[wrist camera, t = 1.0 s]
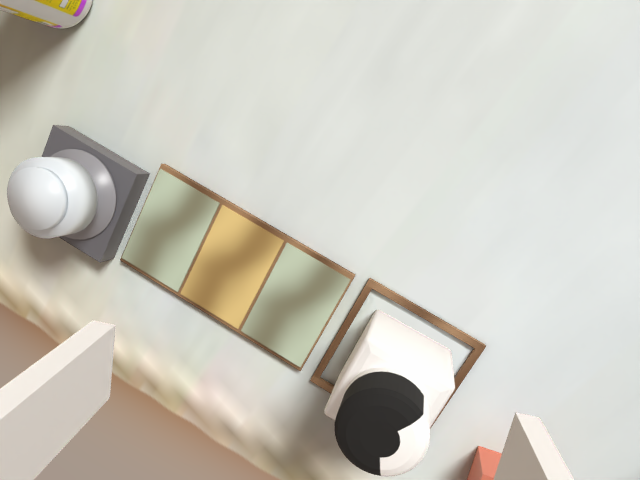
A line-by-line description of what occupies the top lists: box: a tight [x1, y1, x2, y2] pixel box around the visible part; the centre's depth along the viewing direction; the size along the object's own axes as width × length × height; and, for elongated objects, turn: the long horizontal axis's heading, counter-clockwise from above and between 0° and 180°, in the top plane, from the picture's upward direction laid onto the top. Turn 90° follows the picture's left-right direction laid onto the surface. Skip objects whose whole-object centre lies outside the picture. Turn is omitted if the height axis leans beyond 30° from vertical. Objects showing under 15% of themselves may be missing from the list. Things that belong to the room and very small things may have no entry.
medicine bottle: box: [324, 310, 455, 476], centre depth 37 cm, size 7×7×12 cm
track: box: [120, 164, 355, 371], centre depth 44 cm, size 20×10×1 cm, turn 61°
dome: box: [7, 157, 98, 239], centre depth 41 cm, size 7×7×3 cm
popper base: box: [42, 125, 150, 262], centre depth 45 cm, size 9×9×2 cm
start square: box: [310, 278, 486, 428], centre depth 42 cm, size 11×11×1 cm
